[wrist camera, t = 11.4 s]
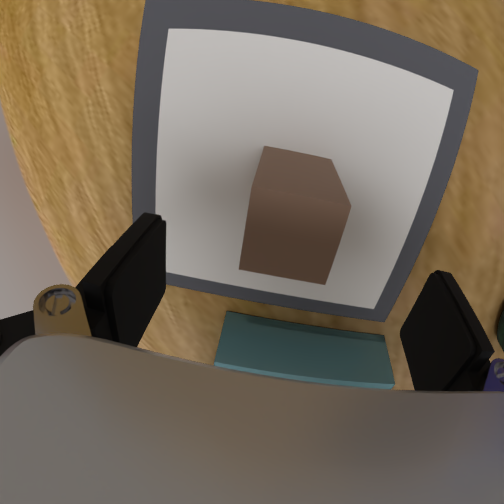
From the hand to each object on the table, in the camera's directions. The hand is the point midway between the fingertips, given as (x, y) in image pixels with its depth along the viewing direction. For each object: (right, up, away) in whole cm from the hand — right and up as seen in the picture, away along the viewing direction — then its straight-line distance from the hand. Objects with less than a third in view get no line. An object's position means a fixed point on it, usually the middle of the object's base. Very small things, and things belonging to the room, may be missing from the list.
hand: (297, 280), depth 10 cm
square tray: (+2, -10, +17) cm, 20 cm away
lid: (+1, +5, +7) cm, 9 cm away
